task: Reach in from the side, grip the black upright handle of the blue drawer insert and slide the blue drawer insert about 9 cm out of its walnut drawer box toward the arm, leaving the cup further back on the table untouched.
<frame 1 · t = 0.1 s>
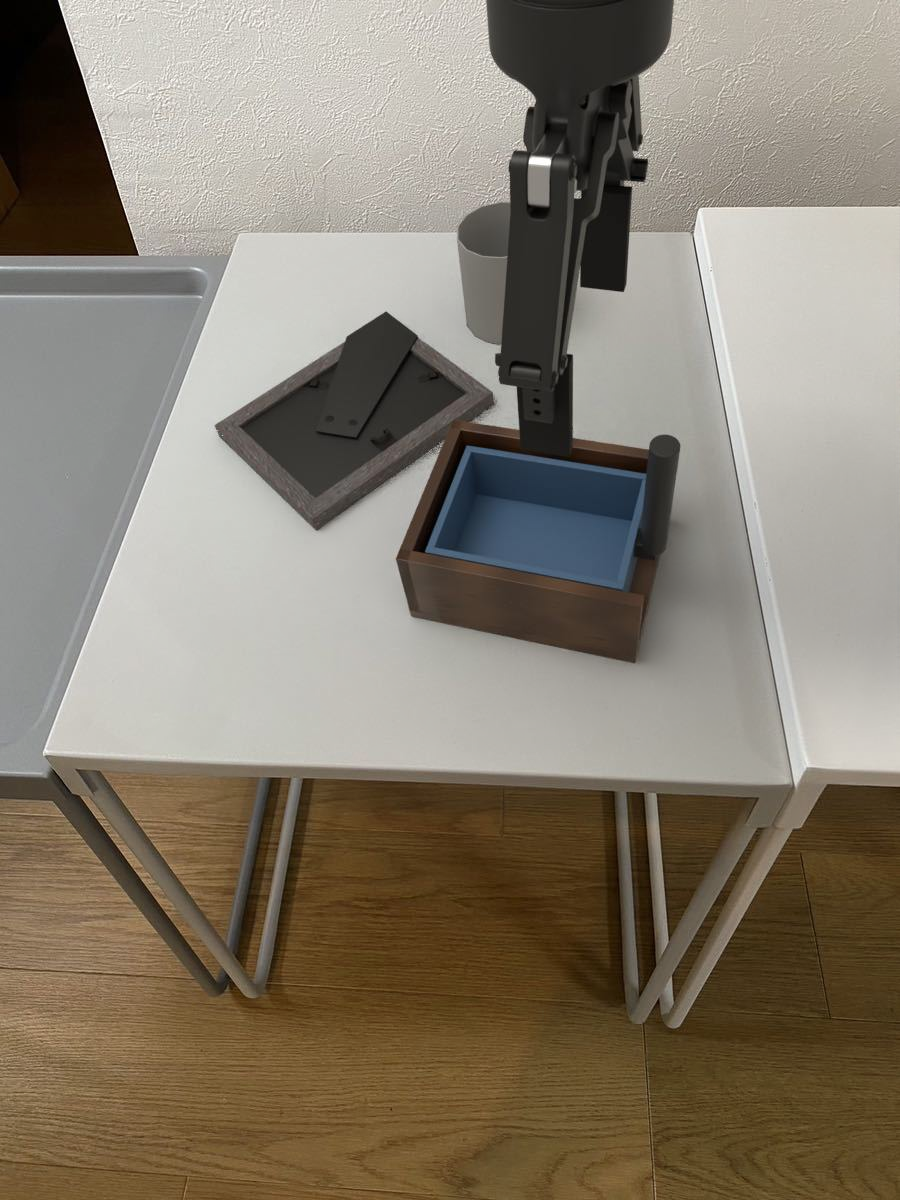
hand: (576, 362, 54), 25 cm above the table, tool pointing down, fingers open, 13 cm apart
blue drawer insert: (553, 500, 69), point 9 cm above the table, slide at 0.0 cm
cup: (507, 317, 94), on the table
picture frame: (355, 422, 88), on the table
walnut drawer box: (541, 566, 77), on the table
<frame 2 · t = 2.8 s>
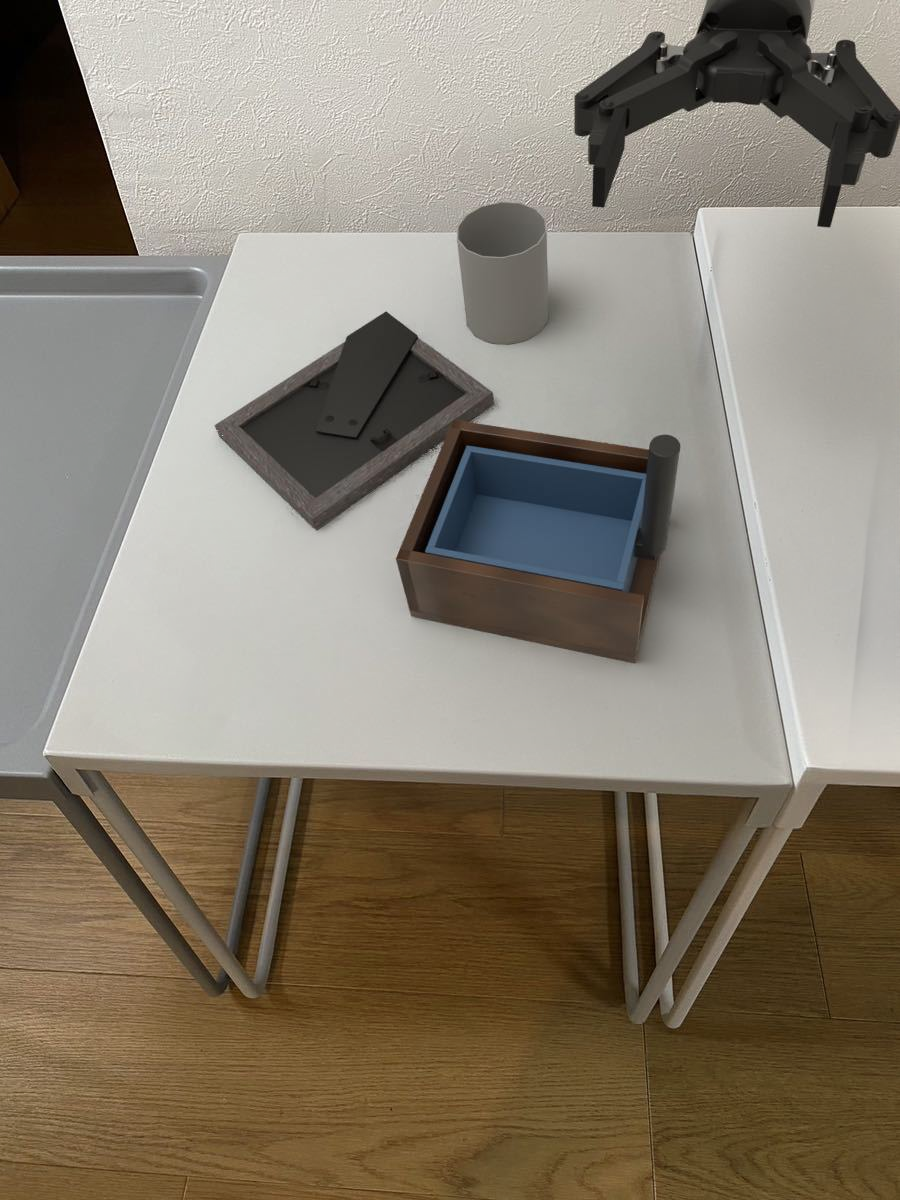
hand: (710, 197, 56), 28 cm above the table, tool horizontal, fingers open, 13 cm apart
nothing on the table moved.
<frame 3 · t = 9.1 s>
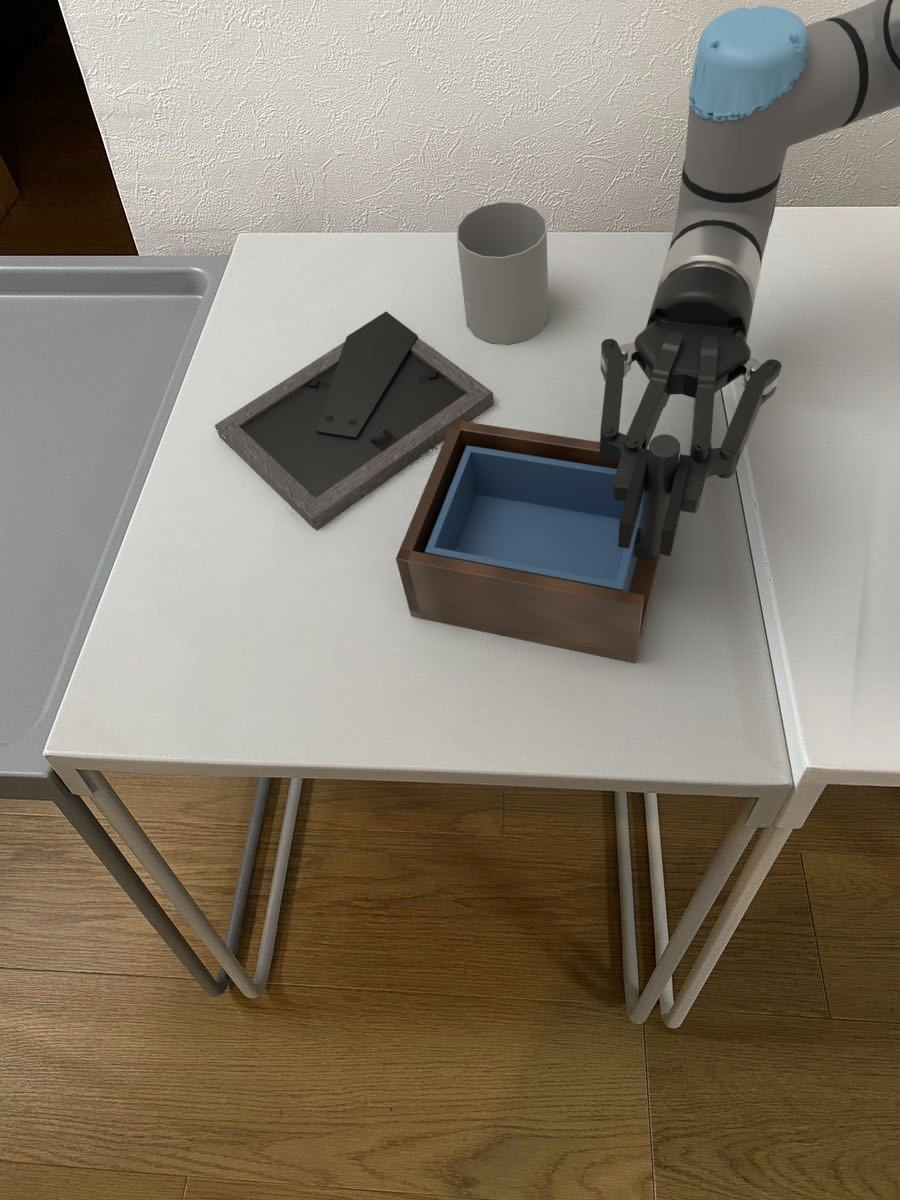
hand: (645, 538, 61), 14 cm above the table, tool horizontal, fingers closed on blue drawer insert, 2 cm apart
blue drawer insert: (553, 500, 69), point 9 cm above the table, slide at 0.0 cm, touching gripper
everything else where it was.
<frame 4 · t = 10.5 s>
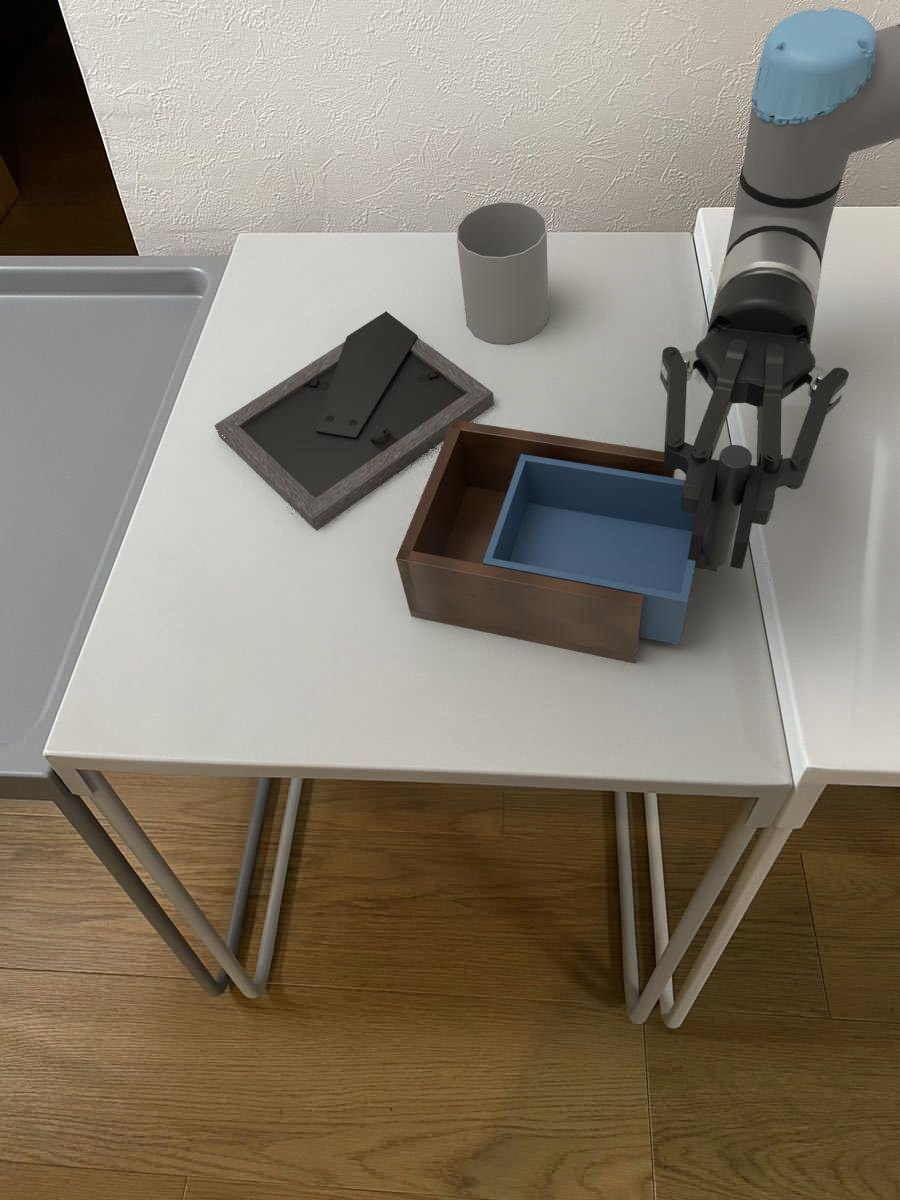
hand: (717, 551, 59), 14 cm above the table, tool horizontal, fingers closed on blue drawer insert, 2 cm apart
blue drawer insert: (613, 511, 68), point 9 cm above the table, slide at 4.5 cm, touching gripper
everything else where it was.
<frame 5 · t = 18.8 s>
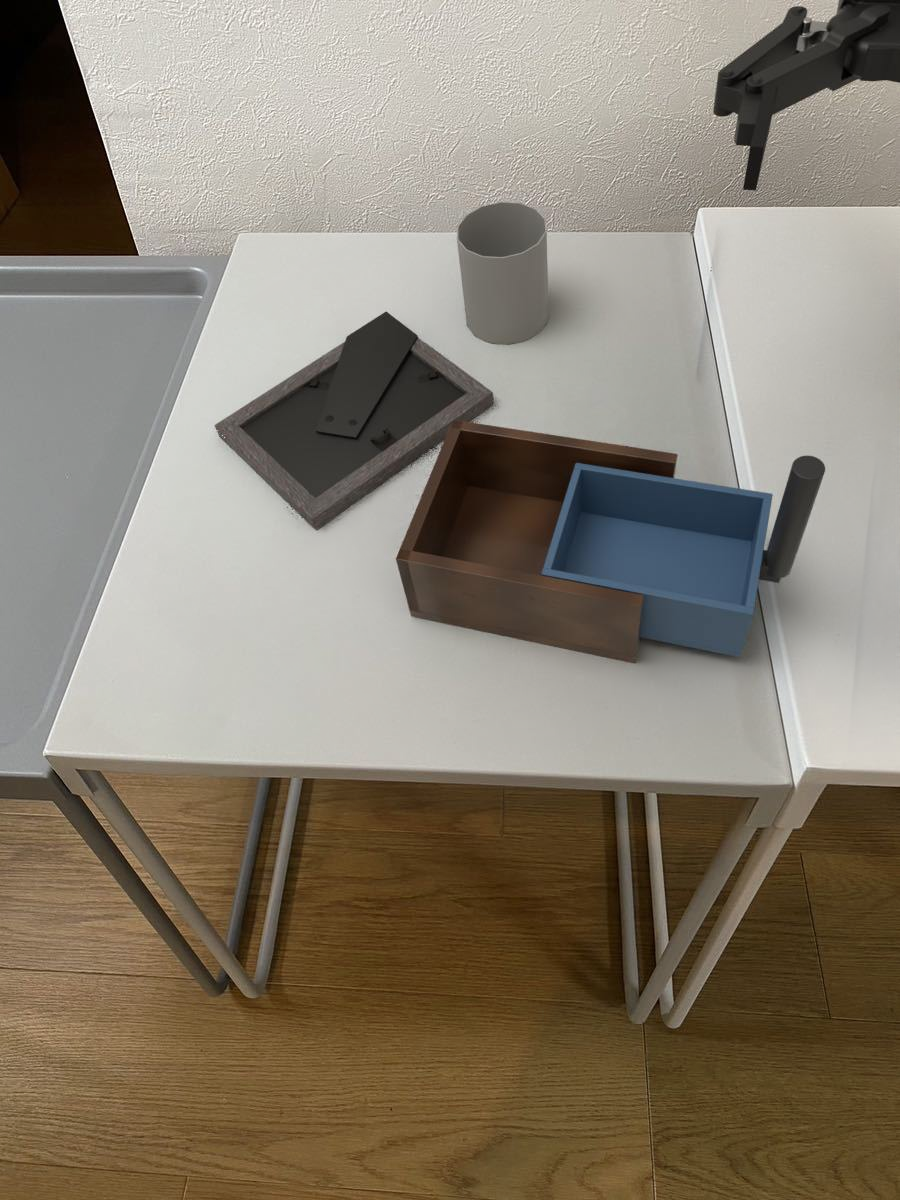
hand: (877, 178, 52), 30 cm above the table, tool horizontal, fingers open, 13 cm apart
blue drawer insert: (675, 521, 67), point 9 cm above the table, slide at 9.0 cm
everything else where it was.
at the end: blue drawer insert slide at 9.0 cm; the gripper is holding nothing; cup moved 0.2 cm from its start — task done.
